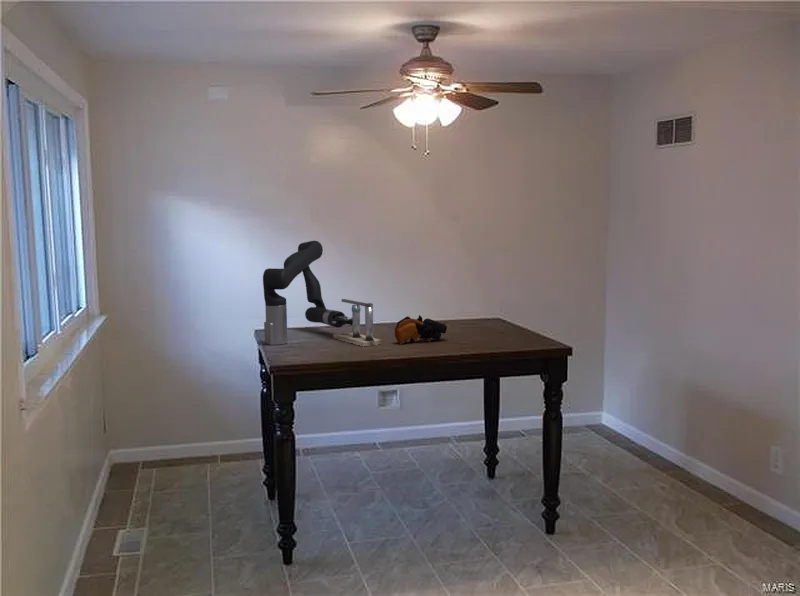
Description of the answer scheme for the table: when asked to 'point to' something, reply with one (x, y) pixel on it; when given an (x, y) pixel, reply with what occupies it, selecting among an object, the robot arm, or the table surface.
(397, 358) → the table surface
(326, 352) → the table surface
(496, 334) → the table surface
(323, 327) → the table surface
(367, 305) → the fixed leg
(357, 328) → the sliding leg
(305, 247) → the robot arm
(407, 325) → the tool
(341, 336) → the hole board
